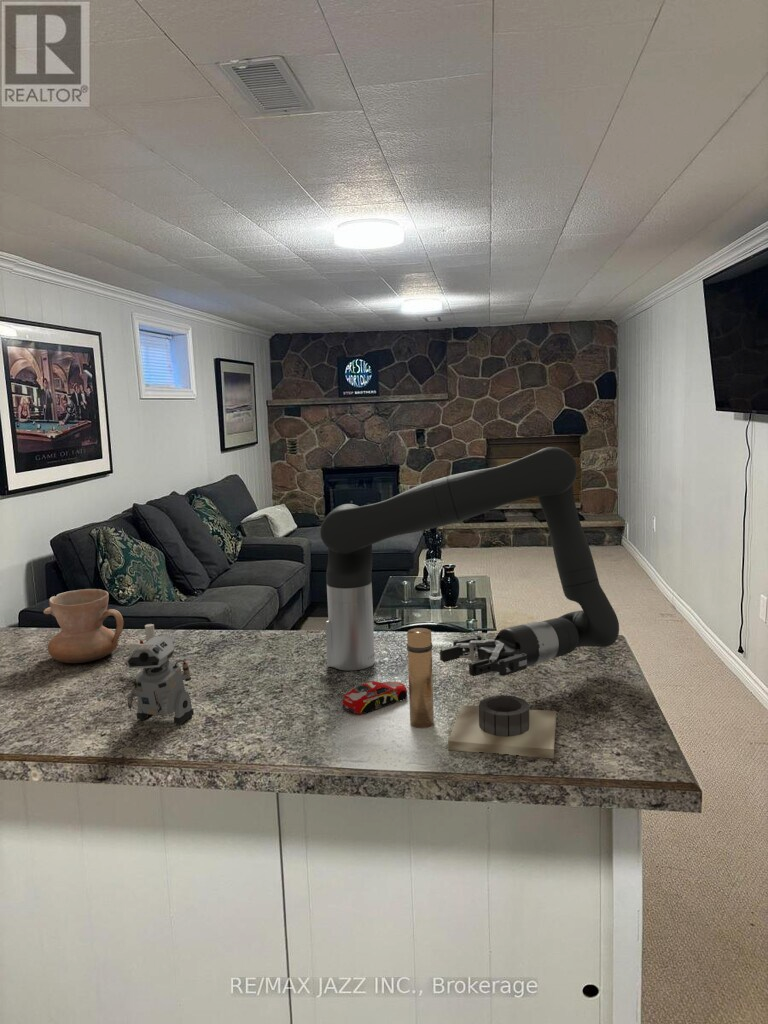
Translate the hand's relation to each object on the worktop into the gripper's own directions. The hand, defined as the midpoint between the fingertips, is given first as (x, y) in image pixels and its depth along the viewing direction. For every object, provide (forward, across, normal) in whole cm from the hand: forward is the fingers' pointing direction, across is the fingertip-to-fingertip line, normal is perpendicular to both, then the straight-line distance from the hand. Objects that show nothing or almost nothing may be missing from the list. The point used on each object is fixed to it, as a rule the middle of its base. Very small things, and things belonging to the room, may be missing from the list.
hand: (455, 662), depth 130 cm
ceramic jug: (+49, -72, +9) cm, 87 cm away
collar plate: (-1, +11, +9) cm, 15 cm away
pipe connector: (+39, -53, +9) cm, 66 cm away
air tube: (+7, 0, +9) cm, 12 cm away
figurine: (+45, -26, +9) cm, 53 cm away
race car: (+9, -12, +10) cm, 18 cm away
